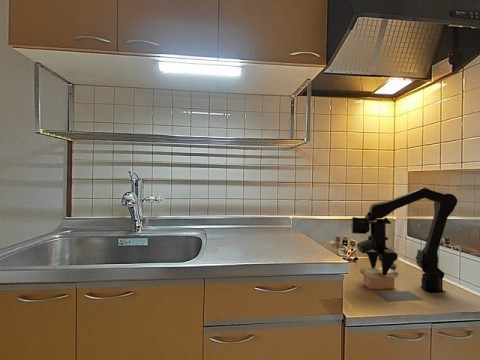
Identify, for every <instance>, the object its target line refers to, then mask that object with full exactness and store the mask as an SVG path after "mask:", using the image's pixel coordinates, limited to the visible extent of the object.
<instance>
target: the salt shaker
mask: <svg viewBox="0 0 480 360" xmlns="http://www.w3.org/2000/svg"><path fill="white" fill-rule="evenodd" d="M388 250H391V251H393V252H394V250H393V249H392V248H391V247H388ZM388 250H386V251H388ZM397 266H398V265H397V264H395V261H394V262H393V264H392V265H391V267H390V269H392V270H394V271H396V269H397Z"/></svg>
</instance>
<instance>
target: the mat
mask: <svg viewBox="0 0 480 360" xmlns="http://www.w3.org/2000/svg"><path fill="white" fill-rule="evenodd" d="M374 293H375V294H376V295H378V296H379V297H380V298H381V299H383V300H384V301H385V302H386V303H387V302H388V303H391V302H409V301H410V302H411V301H412V302H413V301H424V299H423V298H422V297H420V296H419V295H416V294H415V293H413V292H412V291H410V290H404V291H403V290H401V291H384V292H383V291H380V292H379V291H378V292H374Z"/></svg>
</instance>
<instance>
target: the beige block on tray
mask: <svg viewBox="0 0 480 360" xmlns="http://www.w3.org/2000/svg"><path fill="white" fill-rule="evenodd" d="M360 274H361V275H363V277H364V276H366V277H367V278H392V277H394V278H398V272H397V271H396V270H392V269H389V271H388V272H387V274H386V275H383V272H382V267H375V268H372V267H362V268H360Z"/></svg>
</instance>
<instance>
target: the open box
mask: <svg viewBox="0 0 480 360" xmlns="http://www.w3.org/2000/svg"><path fill="white" fill-rule="evenodd" d="M363 285H364V286H366V287H367V288H368V289H369V290H385V289H386V290H388V289H395V277H392V278H367V277H366V276H364V275H363Z"/></svg>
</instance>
